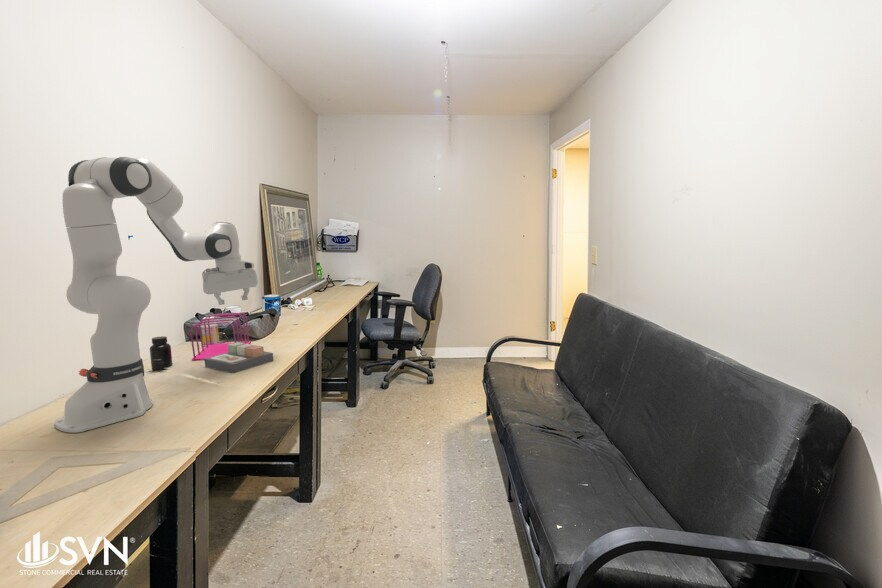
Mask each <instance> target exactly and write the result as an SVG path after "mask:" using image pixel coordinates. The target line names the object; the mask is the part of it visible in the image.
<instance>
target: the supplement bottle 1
mask: <svg viewBox="0 0 882 588" xmlns="http://www.w3.org/2000/svg"><path fill="white" fill-rule="evenodd" d="M151 344H152V345H151V346H150V347H149V358H150V366H151V370H152V371H153V372H164V371H168V368H170V367H172V366H173V357H172V355H173V354H172V347H171V344H169V343H168V337H167V336H162V335H161V336H156V337H152V338H151Z"/></svg>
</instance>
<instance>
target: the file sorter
mask: <svg viewBox="0 0 882 588" xmlns="http://www.w3.org/2000/svg"><path fill="white" fill-rule="evenodd" d="M237 316H240V317H241V318H242V325H243V326H241V321H240V319H239V318H238V317H237ZM205 317H206V318H205V319H203V318H202V319H201V320H200V321H199V322H198V323H196V324H194V325H193V326H191V328H190V330H189V333H190V340H191V347H192V348H191V349H192V355H193V357H192V359H191V361H192V362H197V361H204V359H205V358H209V357H213V356H217V355H220V354H224V353H228V345H229V344H233V343H237V342H239V343H245V344H252V342H251V341H250V338H249V327H248V317H247V315H246V314H245V313H243V312H229V313H227V312H226V313H215V314H214V313H213V314H210V315H207V316H205ZM208 317H209V318H208ZM210 317H214V318H210ZM207 318H208V319H207ZM231 318H234V319H236V320H237V321H236V320H234V319H231ZM212 319H214V321H209V320H212ZM206 320H208V321H206ZM229 321H230V322H229ZM207 322H208V323H207ZM209 322H216V323H209ZM232 322H234V323H235V326H234V324H233V323H232ZM203 323H204V324H203ZM206 323H207V324H206ZM211 324H218V325H221V324H229V325H230V326H231V327H232V332H233V340H234V341H233V342H223V343H219V344H212V343H211V334H210V325H211ZM201 325H204V327H205V338H206V347H205V346H204V345H203V338H202V330H201ZM206 325H208V329H209V339H210V344H209V345H208V342H207V332H206ZM235 327H236V331H235ZM242 327H243V334H242ZM193 329H194V332H195V333H194V334H195V339H196V340H195V342H196V347H197V354H196V352H195V351H196V350H195V344H194V337H193ZM198 330H199V331H198ZM198 332H199V337H200V344H201V351H200V345H199V338H198ZM236 335H237V336H236ZM243 336H244V337H243ZM236 337H237V339H236ZM243 339H244V341H243Z"/></svg>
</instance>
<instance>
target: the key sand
mask: <svg viewBox="0 0 882 588" xmlns="http://www.w3.org/2000/svg"><path fill="white" fill-rule="evenodd" d="M251 346H255V344H252V343H250V344H244V345H240V346H237V355H240V356H246V348H248V347H251Z"/></svg>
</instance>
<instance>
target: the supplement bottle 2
mask: <svg viewBox="0 0 882 588" xmlns="http://www.w3.org/2000/svg"><path fill="white" fill-rule="evenodd" d="M206 317H207V316H205V317H203V318H202V320H203V319H205V318H206ZM208 318H209V317H208ZM208 318H207V319H208ZM210 318H215V316H214V317H210ZM214 320H215V319H212V320H209V321H214ZM206 321H208V320H206ZM207 323H208V322H207ZM207 323H206V324H207ZM209 323H217V322H209ZM202 324H204V323H202ZM218 325H219V324H211V325H210V334H211V343H212V344H219V343H220V335H219V326H218ZM200 327H201V335H202V341H203V347H204V348H205V347H206V338H205V327H204V325H201V326H200ZM206 332H207V342H208V345H209V344H210V339H209V329H208V325H206Z"/></svg>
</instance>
